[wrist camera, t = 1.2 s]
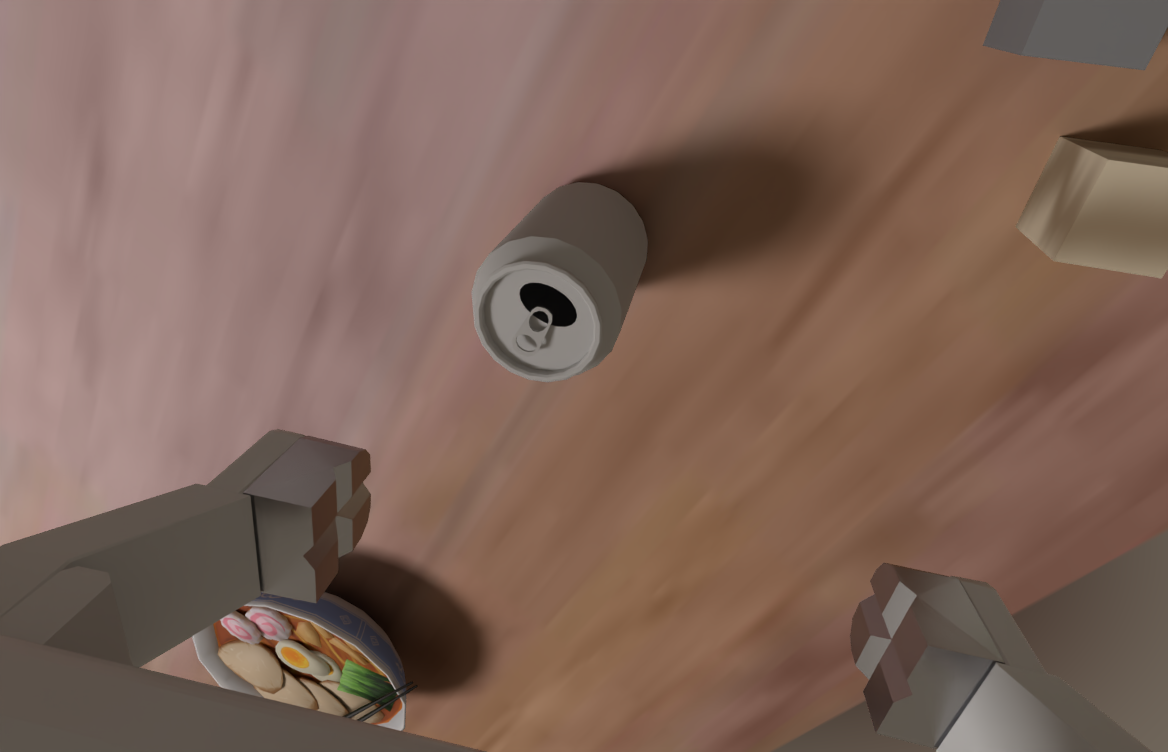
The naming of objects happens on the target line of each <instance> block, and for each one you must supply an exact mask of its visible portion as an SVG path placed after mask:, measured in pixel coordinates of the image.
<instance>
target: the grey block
mask: <svg viewBox="0 0 1168 752" xmlns="http://www.w3.org/2000/svg"><path fill="white" fill-rule="evenodd" d="M1167 27H1168V0H1001V1H1000V3H999V6H998V8H997V11H996V13H995V16H994V18H993V21H992V23H991V26H990V28H989V31H988V33H987V36H986V39H985V41H984V44H983V46H987V47H991V48H995V49H999V50H1002V51H1006V52H1010V53H1014V54H1018V55H1023V56H1032V57H1040V58H1048V59H1056V60H1065V61H1073V62H1081V63H1089V64H1098V65H1106V66H1114V67H1122V68H1131V69H1139V70H1145V69H1146V67H1147V65H1148V63H1149V61H1150V59H1151V57H1152V56H1153V54H1154V52H1155V50H1156V48H1157V46H1158V44H1159V42H1160V41H1161V39H1162V37H1163V35H1164V33H1165V31H1166V29H1167Z"/></svg>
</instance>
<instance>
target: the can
mask: <svg viewBox="0 0 1168 752" xmlns="http://www.w3.org/2000/svg"><path fill="white" fill-rule="evenodd" d="M647 247H648V239H647V235H646V231H645V227H644V223H643V221H642V219H641V218H640V216H639V214H638V213H637V211H636V210H635V208H634V206H633V205H632V204H631V203H630V202H629V201H627V200H626V199H625V198H624V197H623V196H621V195H620V194H619V193H618V192H617V191H614V190H612V189H610V188H607V187H605V186H602V185H600V184H596V183H583V182H576V183H573V184H569V185H565V186H561V187H558V188H557V189H555V190H554V191H553V192H551V193H550V194H548V195H547V196H545V197H544V198H543V199H542V200H541V201H540V202H539V203H538V204H537V205H536V206H535V207H534V208H533V209H532V210H531V211H530V212H529V213H528V214H527V215H526V216H525V217H524V218H523V220H522V221H521V222H520V223H519V224H518V225H517V226H516V227H515V228H514V229H513V230H512V231H511V232H510V233H509V234H508V235H507V236H506V237H505V238H504V239H503V240H502V241H501V242H500V243H499V244H498V246H497V247H496V248H495V249H494V250H493V251H492V252H491V253H490V254H489V255H488V257H487V258H486V259H485V261H484V262H483V264H482V265H481V266H480V268H479V269H478V271H477V273H476V277H475V281H474V285H473V289H472V303H473V314H474V326H475V329H476V331H477V333H478V336H479V338H480V341H481V343H482V345H483V346H484V347H485V349H486V350H487V351H488V353H489V354H490V355H491V356H492V358H493V359H494V360H495V361H496V362H498V363H499V364H500V365H502V366H503V367H504V368H506V369H507V370H508V371H510V372H512V373H514V374H516V375H519V376H521V377H524V378H526V379H528V380H535V381H543V382H553V381H560V380H566V379H568V378H570V377H572V376H574V375H579V374H581V373H583V372H585V371H587V370H589V369H591V368H593V367H595V366H597V365H598V364H599V363H600V362H601V361H602V360H603V359H604V358H605V357H606V356H607V355H608V354H609V353H610V352H611V351H612V349H613V347H614V344H615V342H616V340H617V338H618V335H619V333H620V331H621V328H622V325H623V322H624V320H625V317H626V314H627V312H628V309H629V306H630V303H631V301H632V298H633V295H634V292H635V290H636V287H637V284H638V282H639V279H640V276H641V273H642V271H643V268H644V265H645V263H646V260H647Z"/></svg>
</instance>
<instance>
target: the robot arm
mask: <svg viewBox="0 0 1168 752" xmlns="http://www.w3.org/2000/svg"><path fill="white" fill-rule="evenodd" d="M370 472H371V465H370V454H369V453H368V452H367V451H366V449H362V448H357V447H353V446H349V445H345V444H341V443H337V442H333V441H328V440H324V439H320V438H316V437H312V436H305V435H302V434H298V433H294V432H289V431H285V430H280V429H277V430H272V431H269V432H268V433H267V434H265V435H264V436H263V437H262V438H261V439H260V440H258V441H257V442H256V443H255V444H254V445H253V446H252V447H250V448H249V449H248V450H247V451H246V452H245V453H243V454H242V455H241V456H240V457H239V458H238V459H236V460H235V461H234V462H233V463H232V464H231V465H229V466H228V467H227V468H226V469H225V470H224V471H223V472H221V473H220V474H219V475H218V476H217V477H216V478H214V479H213V480H212V481H211V482H210V483H209V484H207V485H206V486H205V485H200V484H194V485H191V486H188V487H184V488H181V489H178V490H175V491H172V492H169V493H165V494H162V495H159V496H156V497H153V498H150V499H146V500H143V501H140V502H137V503H134V504H131V505H128V506H124V507H121V508H118V509H115V510H112V511H109V512H105V513H102V514H99V515H96V516H93V517H90V518H86V519H83V520H80V521H77V522H74V523H71V524H67V525H64V526H61V527H58V528H55V529H52V530H49V531H45V532H42V533H39V534H36V535H33V536H30V537H26V538H23V539H20V540H17V541H14V542H11V543H7V544H4V545H2V546H1V547H0V752H486V751H482V750H478V749H474V748H470V747H465V746H461V745H457V744H453V743H449V742H445V741H441V740H437V739H432V738H428V737H424V736H420V735H416V734H412V733H408V732H403V731H399V730H395V729H391V728H387V727H383V726H379V725H374V724H370V723H366V722H362V721H358V720H354V719H350V718H345V717H341V716H337V715H333V714H329V713H325V712H321V711H316V710H312V709H308V708H304V707H300V706H296V705H292V704H287V703H283V702H279V701H275V700H271V699H267V698H263V697H258V696H254V695H250V694H246V693H242V692H238V691H234V690H229V689H225V688H221V687H217V686H213V685H209V684H205V683H200V682H196V681H192V680H188V679H184V678H180V677H176V676H171V675H167V674H163V673H159V672H155V671H151V670H147V669H142V668H139V667H141V666H143V665H144V664H146V663H148V662H150V661H151V660H153V659H155V658H156V657H158V656H160V655H161V654H163V653H165V652H166V651H168V650H170V649H171V648H173V647H175V646H177V645H178V644H180V643H182V642H183V641H185V640H187V639H188V638H190V637H192V636H193V635H195V634H197V633H198V632H200V631H202V630H204V629H205V628H207V627H209V626H210V625H212V624H214V623H215V622H217V621H219V620H220V619H222V618H224V617H225V616H227V615H229V614H231V613H232V612H234V611H236V610H237V609H239V608H241V607H242V606H244V605H246V604H247V603H249V602H251V601H252V600H254V599H256V598H258V597H259V596H261V592H262V593H267V594H272V595H277V596H282V597H287V598H292V599H297V600H302V601H307V602H311V603H317V602H318V600H319V599H320V598H321V596H322V595H323V593H324V592H325V590H326V589H327V587H328V586H329V585H330V583H331V582H332V580H333V579H334V577H335V576H336V574H337V573H338V572H339V564H338V558H339V557H341V556H343V555H345V554H347V553H350V552H352V551H353V550H354V548H355V547H356V545H357V543H358V542H359V540H360V539H361V537H362V534H363V532H364V529H365V527H366V524H367V522H368V518H369V512H370V505H371V494H370V493H369V491H368V490H367V488H366V487H365V485H364V484H363V481H364V480H365V479H366V477H367V476H368V475H369V473H370ZM870 582H871V585H872V588H873V590H874V593H875V594H874V595H872V596H870V597H868V598H867V599H865V600H863V601H861V602H860V603H859V605H858V607H857V609H856V612H855V614H854V616H853V618H852V626H851V633H850V641H851V651H852V655H853V658H854V662H855V665H856V666H857V667H858V668H859V669H860V671H861V672H862V673H863V674H864V675H865V676H866V677H867V678H868V679H869V681H868V683H867V685H866V687H865V689H864V691H863V693H864V696H865V699H866V703H867V706H868V709H869V712H870V716H871V719H872V722H873V726H874V729H875V732H876V733H877V734H880V735H884V736H889V737H892V738H896V739H900V740H903V741H907V742H911V743H915V744H919V745H923V746H927V747H930V748H934V749H937V750H936V752H1152V751H1151V750H1149V749H1148V748H1147V747H1146V746H1145V745H1143V744H1142V743H1141V742H1140V741H1138V740H1137V739H1136V738H1135V737H1133V736H1132V735H1131V734H1129V733H1128V732H1127V731H1126V730H1125V729H1123V728H1122V727H1121V726H1119V725H1118V724H1117V723H1116V722H1115V721H1113V720H1112V719H1111V718H1110V717H1108V716H1107V715H1106V714H1105V713H1103V712H1102V711H1101V710H1100V709H1098V708H1097V707H1096V706H1095V705H1093V704H1092V703H1091V702H1090V701H1088V700H1087V699H1086V698H1085V697H1083V696H1082V695H1081V694H1079V693H1078V692H1077V691H1076V690H1075V689H1073V688H1072V687H1071V686H1070V685H1068V684H1067V683H1066V682H1065V681H1063V680H1062V679H1061V678H1060V677H1058V676H1054V675H1050V674H1047V673H1046V671H1045V670H1044V668H1043V667H1042V665H1041V663H1040V662H1039V660H1038V658H1037V657H1036V655H1035V653H1034V652H1033V650H1032V649H1031V647H1030V645H1029V644H1028V642H1027V640H1026V639H1025V637H1024V636H1023V634H1022V632H1021V631H1020V629H1019V628H1018V626H1017V624H1016V623H1015V621H1014V619H1013V618H1012V616H1011V614H1010V613H1009V611H1008V609H1007V608H1006V606H1005V605H1004V603H1003V601H1002V600H1001V598H1000V596H999V595H998V593H997V592H996V590H995V589H994V588H993V587H992V586H990V585H989V584H988V583H986V582H981V581H976V580H971V579H966V578H961V577H955V576H950V577H949V576H945V575H940V574H936V573H931V572H926V571H921V570H917V569H912V568H907V567H903V566H898V565H893V564H889V563H883V564H882V565H881V566H879V567H878V568H877V569H876V571H875V573H874V575H873V577H872V579H871V581H870Z"/></svg>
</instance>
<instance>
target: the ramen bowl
mask: <svg viewBox="0 0 1168 752" xmlns="http://www.w3.org/2000/svg"><path fill="white" fill-rule="evenodd" d="M192 638H193V642H194V645H195V649H196V652H197V655H198V659H199V660H200V662H201V663H202V664H203V665H204V667H205V668H206V669H207V670H208V672H209V673H210V674H211V675H212V677H213V678H214V679H215V680H216V682H217V683H218V684H219V685H220V687H222V688H225V689H229V690H234V691H238V692H242V693H246V694H250V695H254V696H258V697H263V698H267V699H271V700H275V701H279V702H283V703H287V704H292V705H296V706H300V707H304V708H308V709H312V710H316V711H321V712H325V713H329V714H333V715H337V716H341V717H345V718H350V719H354V720H358V721H362V722H366V723H370V724H374V725H379V726H383V727H387V728H391V729H395V730H399V731H402V730H404V729H405V714H406V694H407V693H408V692H410V691H411V690H413V689H414V688H416V687H417V686H418V685H415V686H414V687H412V688H410V689H409V690H407V691H406V687H407V686H409V685H411V684H412V683H413V682H410V683H408V684H406V681H405V674H404V669H403V666H402V662H401V659H400V657H399V655H398V653H397V652H396V650H395V648H394V646H393V644H392V643H391V641H390V639H389V637H388V636H387V634H386V633H385V632H384V630H383V629H382V628H381V627H380V626H379V625H378V624H377V623H375V622H374V621H373V620H372V619H371V618H370V617H369V616H368V615H367V614H366V613H365V612H364V611H362V610H361V609H359V608H357V607H356V606H354V605H352V604H350V603H349V602H347V601H345V600H343V599H342V598H340V597H338V596H335V595H332V594H329V593H326V592H324V593H323V595H322V596H321V598H320V599H319V600H318V602H317V603H311V602H307V601H302V600H297V599H292V598H287V597H282V596H277V595H272V594H267V593H262V592H261V596H259V597H258V598H256V599H254V600H252V601H251V602H249V603H247V604H246V605H244V606H242V607H241V608H239V609H237V610H236V611H234V612H232V613H231V614H229V615H227V616H225V617H224V618H222V619H220V620H219V621H217V622H215V623H214V624H212V625H210V626H209V627H207V628H205V629H204V630H202V631H200V632H198V633H197V634H195V635H193V636H192Z"/></svg>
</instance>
